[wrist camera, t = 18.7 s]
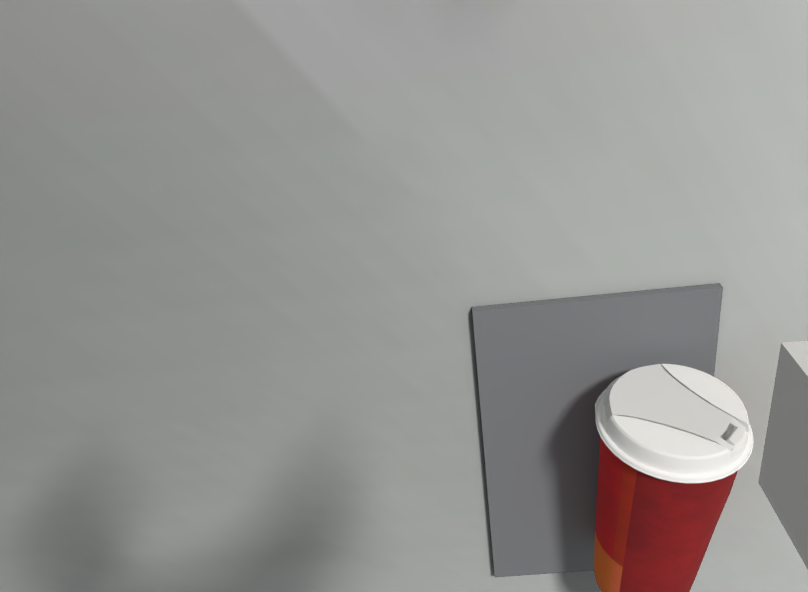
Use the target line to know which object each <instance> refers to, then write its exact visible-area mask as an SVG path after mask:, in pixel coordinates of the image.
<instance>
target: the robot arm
mask: <svg viewBox="0 0 808 592" xmlns="http://www.w3.org/2000/svg"><path fill="white" fill-rule="evenodd" d="M759 484H760V486H761V488H762V489H763V491H764V493H765V495H766V497H767V498H768V500H769V502H770V504H771V505H772V507H773V509H774V511H775V512H776V514H777V516H778V518H779V519H780V521H781V523H782V525H783V526H784V528H785V530H786V532H787V533H788V535H789V537H790V539H791V541H792V542H793V544H794V546H795V548H796V549H797V551H798V553H799V555H800V556H801V558H802V560H803V562H804V563H805V565H806V567H807V569H808V341H798V342H785V343H781V348H780V354H779V360H778V366H777V372H776V378H775V385H774V391H773V397H772V403H771V409H770V415H769V421H768V427H767V433H766V439H765V446H764V452H763V458H762V464H761V470H760V476H759Z"/></svg>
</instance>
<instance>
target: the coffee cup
mask: <svg viewBox="0 0 808 592" xmlns="http://www.w3.org/2000/svg"><path fill="white" fill-rule="evenodd" d="M595 420H596V426H597V430H598V432H599V435H600V449H599V467H598V485H597V503H596V522H595V544H594V572H595V577H596V581H597V583H598V586H599V588H600V589H601V591H602V592H689V591H690V589H691V587H692V584H693V582H694V580H695V577H696V575H697V572H698V570H699V567H700V565H701V562H702V560H703V557H704V555H705V552H706V550H707V547H708V545H709V542H710V539H711V537H712V534H713V532H714V529H715V527H716V524H717V522H718V520H719V517H720V515H721V513H722V510H723V508H724V506H725V503H726V501H727V498H728V496H729V494H730V491H731V488H732V485H733V483H734V480H735V477H736V474H737V471H738V470H739V469H740V468H741V467H742V466H743V465H744V464H745V463H746V462H747V460H748V459H749V457H750V455H751V452H752V448H753V433H752V429H751V426H750V424H749V419H748V415H747V411H746V409H745V407H744V405H743V403H742V401H741V400H740V398H739V397H738V396H737V394H736V393H735V392H734V391H733V390H732V389H731V388H729V387H728V386H727V385H726V384H724V383H723V382H722V381H720V380H718V379H717V378H715V377H713V376H711V375H709V374H707V373H705V372H702V371H700V370H697V369H694V368H690V367H686V366H681V365H675V364H656V365H649V366H644V367H639V368H636V369H633V370H630V371H629V372H627V373H625V374H624V375H622V376H620V377H618V378H616V379H615V380H614V381H613V382H612V383H611V384H610V385H609V386H608V387H607V389H605V390H604V391H603V392H602V393H601V395H600V396H599V397H598V399H597V401H596V403H595Z"/></svg>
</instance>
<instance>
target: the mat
mask: <svg viewBox="0 0 808 592" xmlns="http://www.w3.org/2000/svg"><path fill="white" fill-rule="evenodd" d="M722 291H723V287H722V286H721V284H720V283H717V284H707V285H696V286H686V287H676V288H665V289H655V290H644V291H634V292H624V293H613V294H603V295H592V296H582V297H572V298H561V299H551V300H540V301H530V302H520V303H509V304H499V305H488V306H478V307H472V316H473V328H474V340H475V351H476V363H477V375H478V387H479V399H480V411H481V423H482V434H483V446H484V458H485V470H486V482H487V494H488V505H489V517H490V529H491V541H492V553H493V565H494V575H495V577H506V576H520V575H533V574H547V573H560V572H574V571H588V570H594V544H595V522H596V503H597V485H598V467H599V449H600V435H599V432H598V430H597V426H596V420H595V403H596V401H597V399H598V397H599V396H600V395H601V393H602V392H603V391H604V390H605V389H607V387H608V386H609V385H610V384H611V383H612V382H613V381H614V380H615V379H616V378H618V377H620V376H622V375H624V374H625V373H627V372H629V371H630V370H633V369H636V368H639V367H644V366H649V365H656V364H675V365H681V366H686V367H690V368H694V369H697V370H700V371H702V372H705V373H707V374H709V375H711V376H713V377H714V371H715V361H716V351H717V341H718V331H719V321H720V311H721V301H722Z"/></svg>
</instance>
